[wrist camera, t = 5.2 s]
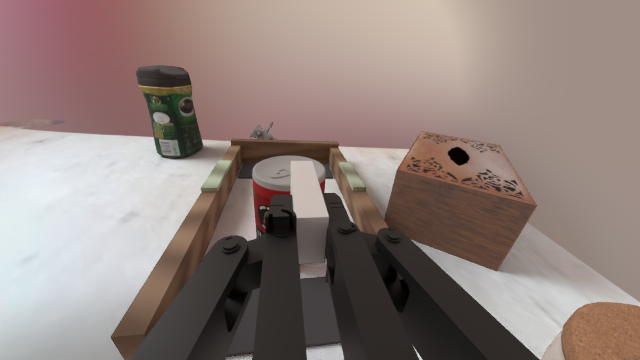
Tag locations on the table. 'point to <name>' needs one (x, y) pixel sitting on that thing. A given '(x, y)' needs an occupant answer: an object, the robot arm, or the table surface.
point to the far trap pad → (248, 166)
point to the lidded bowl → (598, 334)
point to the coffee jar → (170, 109)
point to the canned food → (276, 183)
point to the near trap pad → (315, 314)
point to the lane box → (203, 220)
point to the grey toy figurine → (262, 133)
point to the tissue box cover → (459, 198)
